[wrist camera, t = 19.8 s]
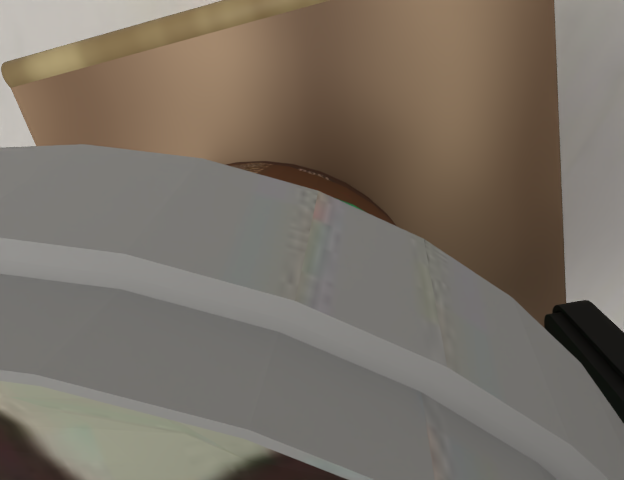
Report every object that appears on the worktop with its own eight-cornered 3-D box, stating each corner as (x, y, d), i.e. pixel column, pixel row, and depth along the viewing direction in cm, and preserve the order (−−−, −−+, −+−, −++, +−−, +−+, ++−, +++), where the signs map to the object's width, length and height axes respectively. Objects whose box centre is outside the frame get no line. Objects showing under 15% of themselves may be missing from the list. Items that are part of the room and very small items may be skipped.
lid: (536, -84, 10) (552, -98, 9) (562, 450, 15) (574, 469, 14) (18, 62, 12) (-4, 61, 11) (203, 495, 17) (196, 514, 16)
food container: (493, 432, 14) (807, 1128, 5) (315, 463, 15) (278, 1098, 6) (421, 41, 10) (1402, -486, 1) (187, 113, 11) (-641, 262, 2)
